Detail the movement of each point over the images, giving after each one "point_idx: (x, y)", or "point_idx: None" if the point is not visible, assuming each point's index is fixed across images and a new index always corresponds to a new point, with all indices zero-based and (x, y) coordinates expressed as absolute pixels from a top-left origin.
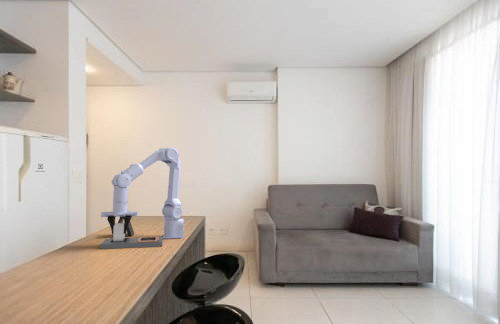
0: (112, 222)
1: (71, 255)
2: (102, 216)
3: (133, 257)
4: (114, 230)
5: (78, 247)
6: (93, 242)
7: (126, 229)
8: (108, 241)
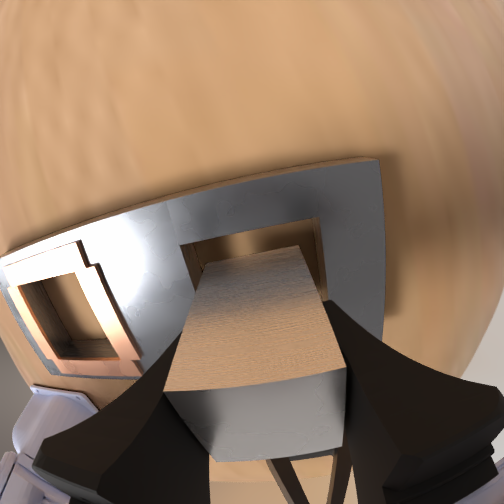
0: (385, 397)
1: (448, 32)
2: None
3: (61, 8)
4: (309, 310)
5: (484, 213)
6: (434, 327)
7: None
8: (343, 258)
